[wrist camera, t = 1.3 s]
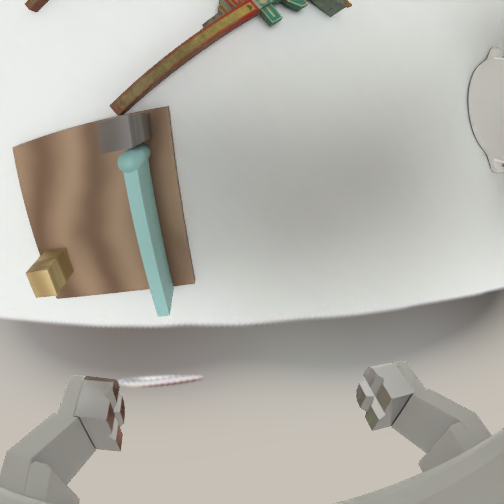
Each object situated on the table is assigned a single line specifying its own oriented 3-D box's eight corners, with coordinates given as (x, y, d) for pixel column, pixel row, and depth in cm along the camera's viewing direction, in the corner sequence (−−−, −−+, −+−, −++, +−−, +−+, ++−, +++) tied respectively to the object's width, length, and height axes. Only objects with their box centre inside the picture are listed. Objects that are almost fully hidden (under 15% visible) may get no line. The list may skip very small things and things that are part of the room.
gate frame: (168, 106, 27) (152, 105, 19) (195, 279, 35) (193, 331, 27) (16, 146, 25) (-33, 163, 17) (59, 295, 34) (31, 341, 26)
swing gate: (149, 141, 27) (137, 149, 22) (176, 286, 34) (172, 316, 29) (131, 145, 27) (115, 153, 22) (160, 288, 34) (154, 318, 29)
